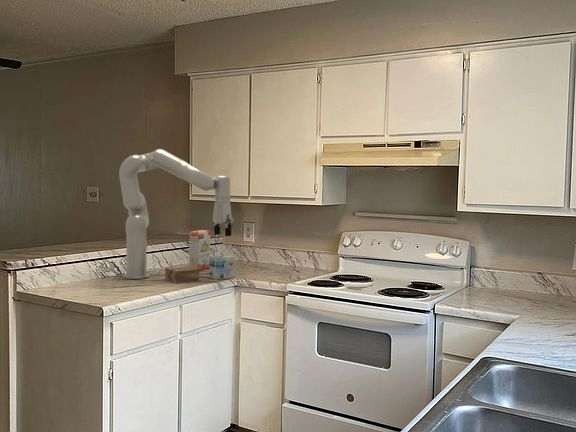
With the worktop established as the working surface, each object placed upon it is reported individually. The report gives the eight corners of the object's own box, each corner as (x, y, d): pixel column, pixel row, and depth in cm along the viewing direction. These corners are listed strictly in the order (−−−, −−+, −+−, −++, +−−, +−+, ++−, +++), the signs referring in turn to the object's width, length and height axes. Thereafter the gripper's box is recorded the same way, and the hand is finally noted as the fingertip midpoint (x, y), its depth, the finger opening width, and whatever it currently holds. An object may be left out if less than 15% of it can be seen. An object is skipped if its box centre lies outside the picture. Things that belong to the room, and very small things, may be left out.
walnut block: (165, 280, 290) (165, 267, 289) (187, 278, 297) (187, 266, 297) (176, 284, 280) (176, 271, 280) (199, 281, 287) (199, 269, 287)
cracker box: (198, 271, 317) (199, 232, 316) (188, 270, 319) (188, 231, 318) (210, 267, 331) (210, 230, 329) (200, 267, 333) (201, 229, 331)
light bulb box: (215, 279, 292) (215, 257, 292) (208, 277, 298) (208, 256, 297) (234, 277, 299) (234, 256, 298) (227, 276, 304) (227, 254, 304)
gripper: (206, 200, 300) (206, 234, 301) (226, 201, 287) (226, 237, 288) (219, 200, 305) (219, 233, 306) (239, 201, 292) (239, 236, 293)
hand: (222, 235), depth 297 cm, fingers open, 9 cm apart
